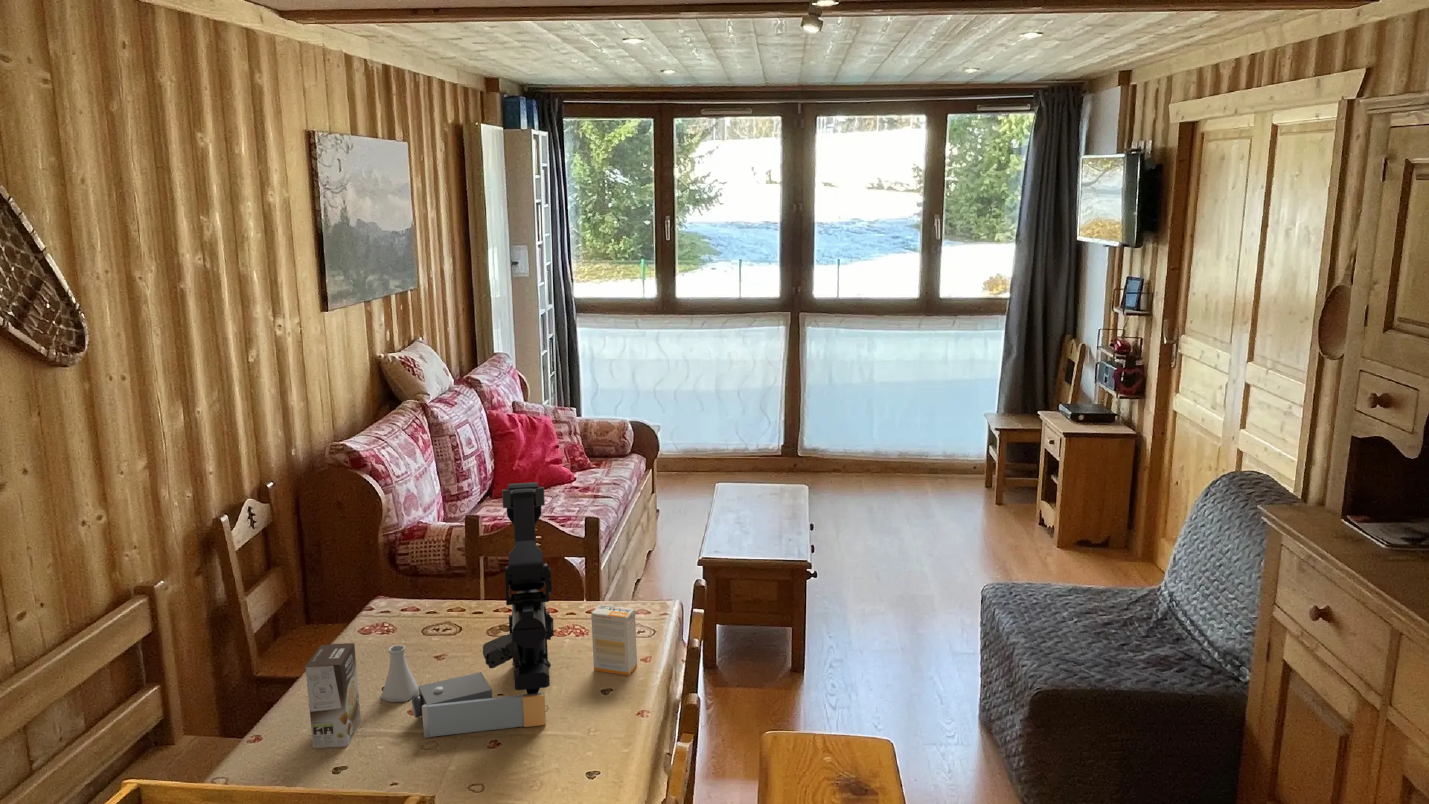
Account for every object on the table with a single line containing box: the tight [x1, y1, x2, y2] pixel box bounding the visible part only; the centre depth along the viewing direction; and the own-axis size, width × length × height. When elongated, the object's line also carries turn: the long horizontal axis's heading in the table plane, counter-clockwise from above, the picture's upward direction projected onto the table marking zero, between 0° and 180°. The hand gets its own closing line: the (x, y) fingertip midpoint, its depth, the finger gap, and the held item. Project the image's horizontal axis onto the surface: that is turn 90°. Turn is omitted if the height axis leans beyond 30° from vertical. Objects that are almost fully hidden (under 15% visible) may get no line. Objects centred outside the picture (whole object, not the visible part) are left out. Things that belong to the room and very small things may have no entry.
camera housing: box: [411, 671, 493, 720], centre depth 188 cm, size 14×8×7 cm, turn 117°
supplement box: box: [590, 604, 638, 677], centre depth 207 cm, size 8×5×13 cm, turn 71°
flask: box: [380, 644, 420, 703], centre depth 197 cm, size 7×7×10 cm
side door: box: [421, 692, 547, 739], centre depth 184 cm, size 22×1×6 cm, turn 102°
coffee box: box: [304, 642, 362, 749], centre depth 182 cm, size 9×6×16 cm
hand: (531, 700), depth 187 cm, fingers closed
